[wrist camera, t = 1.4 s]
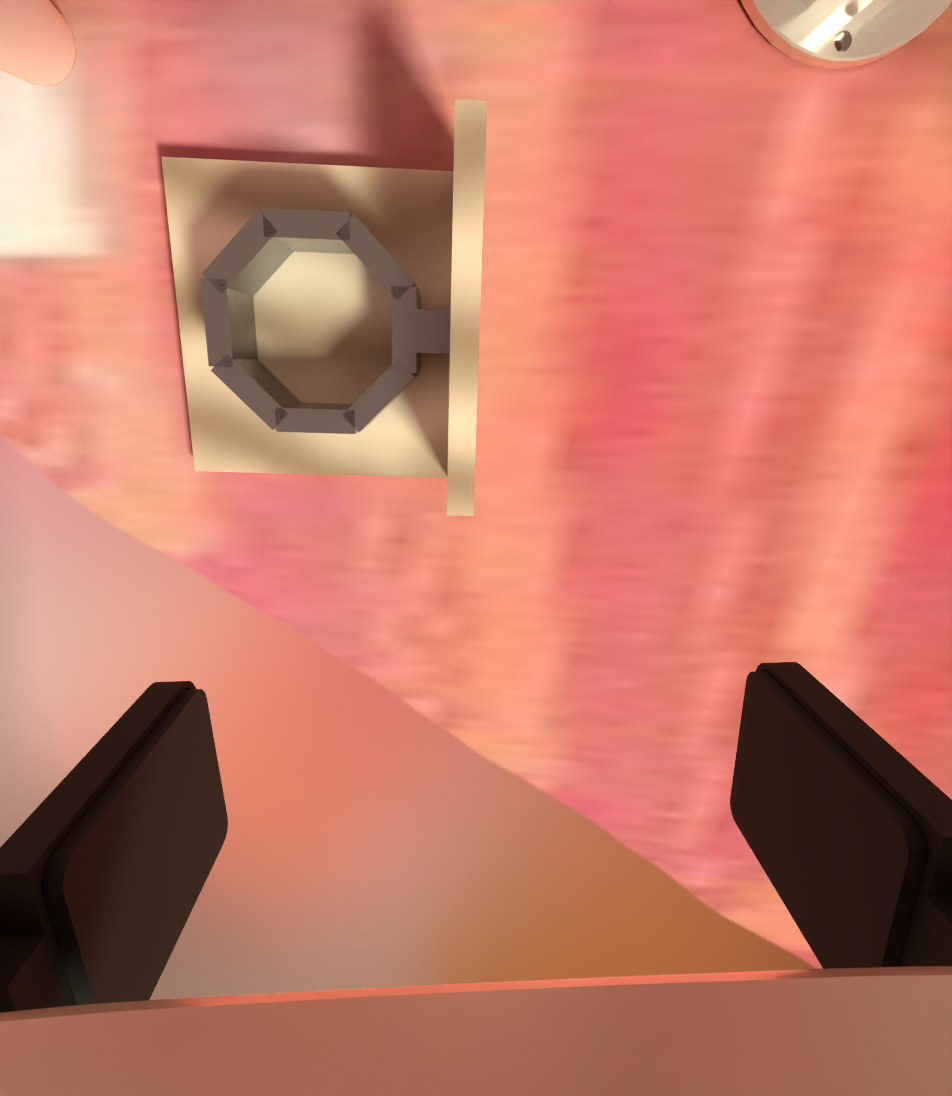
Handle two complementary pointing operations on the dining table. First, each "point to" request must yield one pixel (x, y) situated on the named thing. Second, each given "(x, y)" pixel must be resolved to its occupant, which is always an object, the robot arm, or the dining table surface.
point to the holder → (332, 313)
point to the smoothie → (35, 42)
